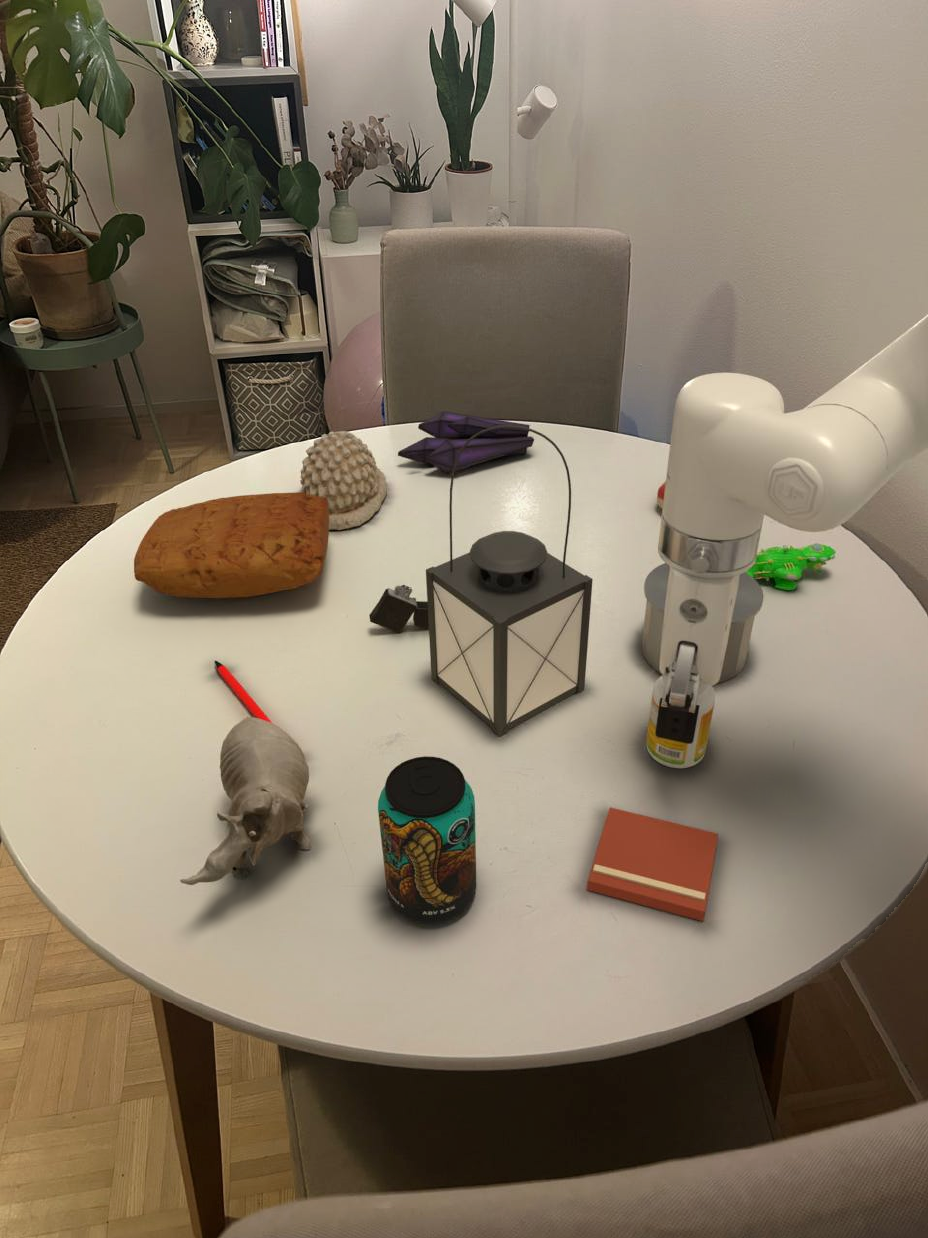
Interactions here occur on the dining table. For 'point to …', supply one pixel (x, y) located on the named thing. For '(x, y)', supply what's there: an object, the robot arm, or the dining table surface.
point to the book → (654, 863)
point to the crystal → (455, 433)
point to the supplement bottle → (672, 750)
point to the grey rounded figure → (257, 796)
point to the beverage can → (428, 839)
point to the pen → (241, 692)
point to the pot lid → (745, 604)
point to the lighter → (399, 610)
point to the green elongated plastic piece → (789, 563)
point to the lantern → (508, 624)
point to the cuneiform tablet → (236, 546)
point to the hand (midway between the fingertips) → (682, 706)
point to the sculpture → (344, 478)
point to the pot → (733, 654)
